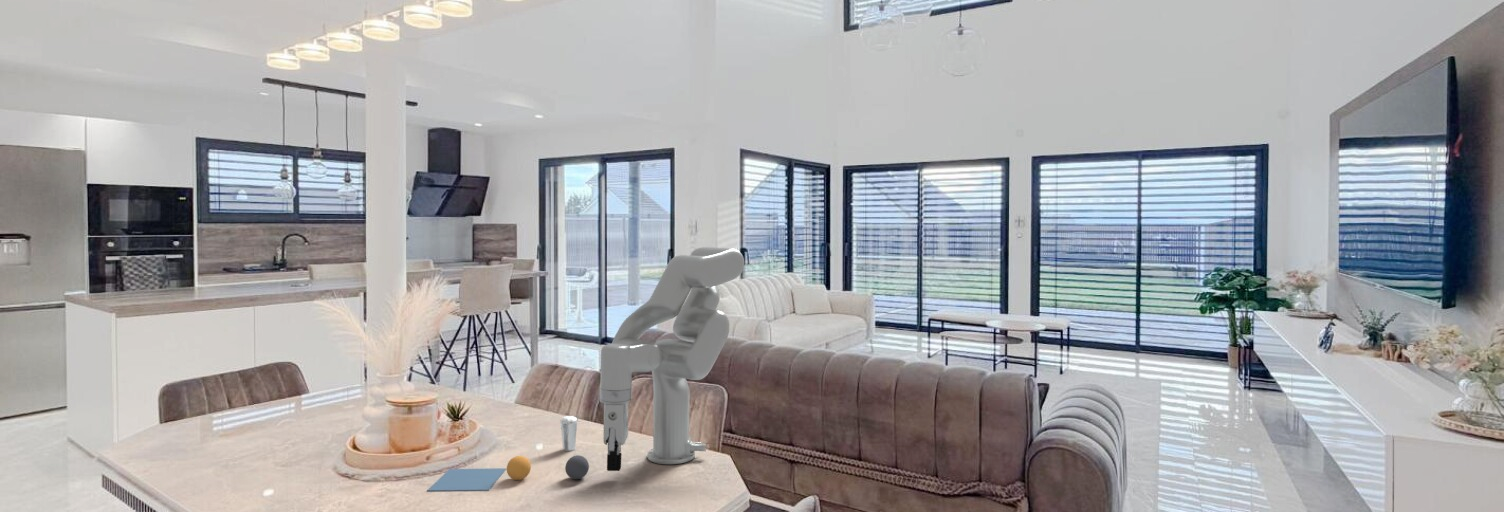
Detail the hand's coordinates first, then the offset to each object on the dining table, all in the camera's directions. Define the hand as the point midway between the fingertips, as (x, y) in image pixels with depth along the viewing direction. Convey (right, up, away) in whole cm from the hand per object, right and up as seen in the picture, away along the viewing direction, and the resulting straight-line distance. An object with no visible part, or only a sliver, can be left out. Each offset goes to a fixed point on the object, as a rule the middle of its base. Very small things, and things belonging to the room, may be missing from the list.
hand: (613, 469), depth 171 cm
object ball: (-23, +1, -1) cm, 23 cm away
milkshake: (-16, -1, +22) cm, 27 cm away
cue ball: (-9, 0, 0) cm, 9 cm away
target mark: (-35, -2, -1) cm, 35 cm away
